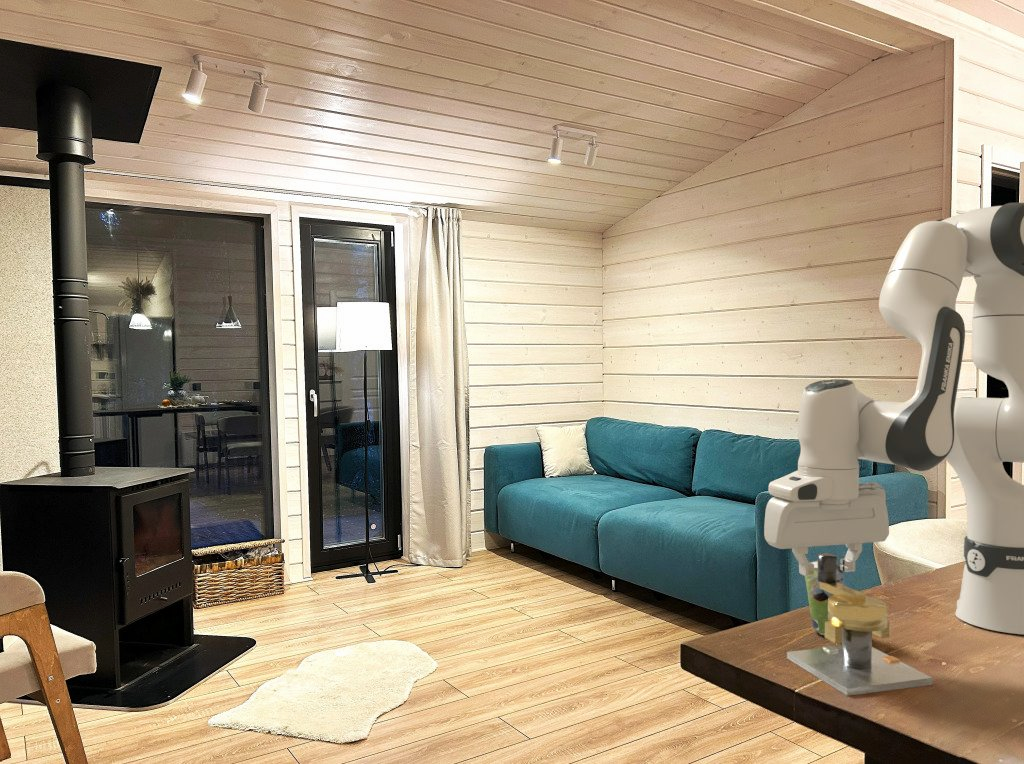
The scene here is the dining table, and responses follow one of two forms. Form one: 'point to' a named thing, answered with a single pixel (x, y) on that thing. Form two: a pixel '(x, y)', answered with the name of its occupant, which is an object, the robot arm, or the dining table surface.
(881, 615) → the brass crank handle
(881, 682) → the post plate
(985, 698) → the dining table surface
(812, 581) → the beverage can
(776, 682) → the dining table surface
